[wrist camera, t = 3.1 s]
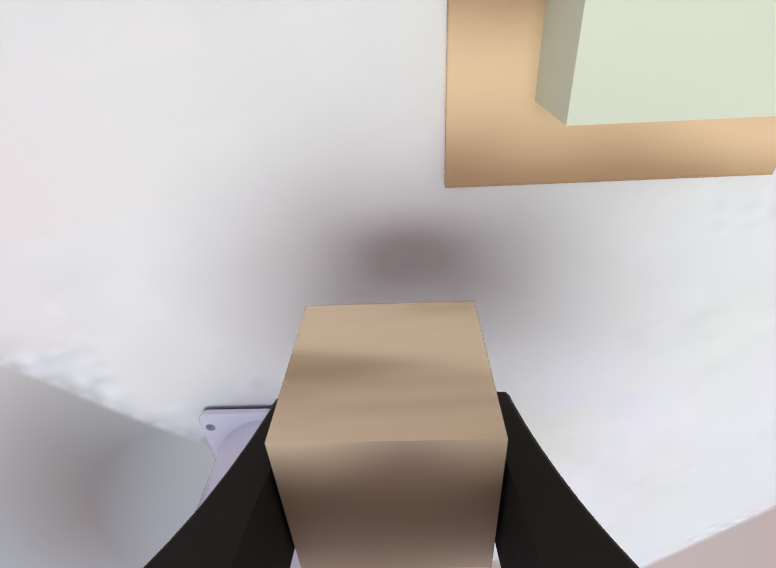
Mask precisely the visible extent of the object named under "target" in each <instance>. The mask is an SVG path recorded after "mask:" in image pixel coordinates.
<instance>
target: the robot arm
mask: <svg viewBox="0 0 776 568" xmlns="http://www.w3.org/2000/svg"><path fill="white" fill-rule="evenodd" d="M497 396H498V400H499V404H500V408H501V412H502V416H503V421H504V425H505V429H506V433H507V437H508V443H507V451H506V459H505V466H504V474H503V482H502V489H501V497H500V505H499V512H498V520H497V528H496V536H495V544H496V548H497V552H498V557H499V561H500V565H501V568H639V567H638V566H637V565H636V564H635V563H634V562H633V561H632V559H631V558H630V557H629V556H628V555H627V554H626V553H625V552H624V551H623V550H622V549H621V548H620V547H619V546H618V544H617V543H616V542H615V541H614V540H613V539H612V538H611V537H610V536H609V534H608V533H607V532H606V531H605V530H604V529H603V528H602V526H601V525H600V524H599V523H598V522H597V521H596V520H595V518H594V517H593V516H592V515H591V514H590V512H589V511H588V510H587V509H586V508H585V506H584V505H583V504H582V503H581V501H580V500H579V499H578V498H577V496H576V495H575V494H574V492H573V491H572V490H571V489H570V487H569V486H568V485H567V483H566V482H565V481H564V479H563V478H562V477H561V475H560V474H559V473H558V471H557V470H556V469H555V467H554V466H553V464H552V463H551V461H550V460H549V459H548V457H547V456H546V454H545V453H544V451H543V450H542V449H541V447H540V446H539V444H538V443H537V441H536V440H535V438H534V437H533V435H532V433H531V432H530V430H529V429H528V427H527V426H526V424H525V422H524V421H523V419H522V417H521V416H520V414H519V412H518V411H517V409H516V407H515V405H514V403H513V402H512V400H511V398H510V396H509V395H508V394H507V393H506V392H497ZM277 401H278V399H276V401H275V402H274V404H273V405H272V407H271V409H220V410H204V411H203V412H202V413H201V415H200V417H199V421H200V424H201V426H202V429H203V431H204V434H205V436H206V439H207V441H208V444H209V446H210V449H211V451H212V453H213V456H214V458H215V463H214V466H213V469H212V471H211V474H210V476H209V479H208V482H207V484H206V486H205V489H204V491H203V494H202V497H201V499H200V502H199V504H198V507H197V509H196V511H195V513H194V514H193V515H192V516H191V517H190V518H189V520H188V521H187V522H186V523H185V524H184V525H183V527H182V528H181V529H180V530H179V531H178V532H177V533H176V534H175V535H174V537H172V539H171V540H170V541H169V542H168V543H167V544H166V545H165V546H164V547H163V548H162V549H161V550H160V551H159V552H158V553H157V554H156V555H155V556H154V557H153V558H152V559H151V561H150V562H148V563H147V565H146V566H145V567H144V568H301V566H300V563H299V559H298V556H297V553H296V549H295V546H294V542H293V539H292V535H291V532H290V528H289V525H288V522H287V518H286V515H285V511H284V508H283V504H282V501H281V497H280V494H279V491H278V487H277V484H276V480H275V477H274V473H273V470H272V467H271V463H270V460H269V456H268V453H267V449H266V446H265V440H266V437H267V434H268V431H269V427H270V424H271V421H272V417H273V414H274V411H275V407H276V404H277Z"/></svg>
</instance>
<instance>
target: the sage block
mask: <svg viewBox="0 0 776 568" xmlns="http://www.w3.org/2000/svg"><path fill="white" fill-rule="evenodd" d="M535 101H536V102H537V103H538V104H540V105H541V106H542V107H543V108H545V109H546V110H547V111H548V112H549V113H551V114H552V115H553V116H554V117H556V118H557V119H558V120H559V121H561V122H562V123H563V124H564V125H566V126H575V125H597V124H618V123H640V122H661V121H682V120H704V119H725V118H747V117H768V116H776V0H546V7H545V16H544V25H543V34H542V42H541V51H540V60H539V69H538V77H537V86H536V95H535Z"/></svg>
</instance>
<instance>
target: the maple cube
mask: <svg viewBox="0 0 776 568" xmlns="http://www.w3.org/2000/svg"><path fill="white" fill-rule="evenodd" d="M507 443H508V437H507V433H506V429H505V425H504V421H503V416H502V412H501V408H500V404H499V400H498V396H497V392H496V388H495V384H494V380H493V376H492V372H491V368H490V364H489V360H488V356H487V352H486V348H485V343H484V339H483V335H482V331H481V327H480V323H479V319H478V315H477V311H476V307H475V303H474V301H452V302H419V303H386V304H353V305H320V306H306V309H305V312H304V315H303V318H302V322H301V325H300V328H299V332H298V335H297V338H296V342H295V345H294V348H293V351H292V355H291V358H290V361H289V365H288V368H287V371H286V374H285V378H284V381H283V384H282V388H281V391H280V394H279V398H278V401H277V404H276V407H275V411H274V414H273V417H272V421H271V424H270V427H269V431H268V434H267V437H266V440H265V446H266V449H267V453H268V456H269V460H270V463H271V467H272V470H273V473H274V477H275V480H276V484H277V487H278V491H279V494H280V497H281V501H282V504H283V508H284V511H285V515H286V518H287V522H288V525H289V528H290V532H291V535H292V539H293V542H294V546H295V549H296V553H297V556H298V559H299V563H300V566H301V568H491V566H492V559H493V551H494V543H495V536H496V528H497V520H498V512H499V505H500V497H501V489H502V482H503V474H504V466H505V459H506V451H507Z"/></svg>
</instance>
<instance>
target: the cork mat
mask: <svg viewBox="0 0 776 568" xmlns="http://www.w3.org/2000/svg"><path fill="white" fill-rule="evenodd" d="M545 7H546V0H447V64H446V129H445V188H454V187H479V186H503V185H527V184H552V183H576V182H600V181H625V180H649V179H674V178H698V177H722V176H747V175H771V174H773V172H774V169H775V167H776V116H768V117H747V118H725V119H704V120H682V121H661V122H640V123H618V124H597V125H575V126H566V125H564V124H563V123H562V122H561V121H559V120H558V119H557V118H556V117H554V116H553V115H552V114H551V113H549V112H548V111H547V110H546V109H545V108H543V107H542V106H541V105H540V104H538V103H537V102H536V101H535V95H536V86H537V77H538V69H539V60H540V51H541V42H542V34H543V25H544V16H545Z"/></svg>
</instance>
